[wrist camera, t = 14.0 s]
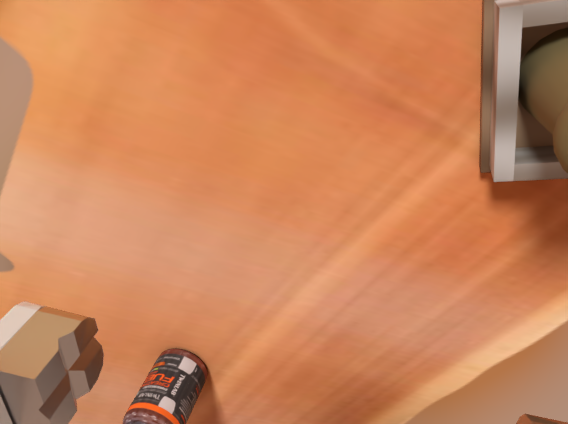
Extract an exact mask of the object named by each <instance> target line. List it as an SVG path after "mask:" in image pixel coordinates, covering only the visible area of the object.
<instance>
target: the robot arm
mask: <svg viewBox="0 0 568 424" xmlns="http://www.w3.org/2000/svg"><path fill="white" fill-rule="evenodd" d="M97 331H98V328H97V325H96V321H95V319H94V318H90V317H86V316H82V315H78V314H74V313H70V312H66V311H62V310H58V309H54V308H50V307H47V306H42V305H38V304H34V303H29V302H25V301H24V302H21V303H19V304H17V305H15V306H14V307H13V308H12V309H11V310H10V311H9V312H8V313H7V314H6V315H5V316H4V317H3V318H2V319H1V320H0V424H68V423H69V422H70V420H71V419H72V417H73V416H74V414H75V413H76V411H77V403H76V399H78V398H79V397H81V396H83V395H85V394H86V393H88V392H90V390H91V389H92V387H93V386H94V384H95V383H96V381H97V380H98V377H99V374H100V371H101V369H102V366H103V355H104V354H103V349H102V346H101V344H100V343H99V342H98V341H97V340H96V339H95V338H94V336H95V334H96V333H97ZM516 424H568V423H567V422H561V421H557V420H552V419H548V418H542V417H538V416H533V415H529V414H524V415H522V416H521V417H520V418H519V420H518V421H517V423H516Z"/></svg>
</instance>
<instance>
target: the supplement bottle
mask: <svg viewBox="0 0 568 424" xmlns="http://www.w3.org/2000/svg"><path fill="white" fill-rule="evenodd" d="M206 378H207V370H206V367H205V365H204V363H203V362H202V361H201V360H200V359H199V358H198V357H197V356H195V355H194V354H193V353H191V352H188V351H186V350H182V349H168V350H166V351H164V352H163V353H162V354H161V355H160V356H159V358H158V359H157V360H156V363H155V364H154V366H153V368H152V369H151V371H150V372H149V374H148V376H147V378H146V380H145V381H144V383H143V385H142V387H141V388H140V390H139V392H138V393H137V395H136V397H135V398H134V400H133V402H132V403H131V405H130V407H129V409H128V411H127V412H126V414H125V416H124V419H123V424H186V422H187V420H188V418H189V416H190V414H191V411H192V409H193V407H194V405H195V403H196V400H197V398H198V396H199V394H200V392H201V390H202V387H203V385H204V383H205V380H206Z"/></svg>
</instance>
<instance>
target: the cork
mask: <svg viewBox="0 0 568 424" xmlns="http://www.w3.org/2000/svg"><path fill="white" fill-rule="evenodd" d="M518 99H519V101H520V102H521V104H522V106H523V108H525V109H526V110H527V111H528V112H529V113H530V114H531V115H532V116H533V117H534V118H535V119H536V120H537V121H538V122H539V123H540V124H542V125H543V126H544V127H545V128H546V129H547V130H548V131H549V132H550V133H551V134H552V135H553V146H554V152H555V155H556V157H557V159H558V161H559V163H560V164H561V166H562V168H563V170H564V171H566V172H567V173H568V28H564V29H560V30H557V31H555V32H553V33H551V34H549V35H547V36H546V37H544V38H542V39H540V40H539V41H538V42H537V43H536V44H535V45H534V46H533V47H532V48H531V49H530V50H529V51H528V52H527V53H526V55H525V57H524V58H523V60H522V62H521V63H520V74H519V92H518Z"/></svg>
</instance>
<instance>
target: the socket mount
mask: <svg viewBox="0 0 568 424" xmlns="http://www.w3.org/2000/svg"><path fill="white" fill-rule="evenodd" d="M564 28H568V0H483V1H482V56H481V111H480V171H481V173H484V172H491V174H492V177H493V181H494V182H505V181H526V180H547V179H568V173H567V172H566V171H564V170H563V168H562V166H561V164H560V163H559V161H558V159H557V157H556V155H555V152H554V146H553V135H552V134H551V133H550V132H549V131H548V130H547V129H546V128H545V127H544V126H543V125H542V124H540V123H539V122H538V121H537V120H536V119H535V118H534V117H533V116H532V115H531V114H530V113H529V112H528V111H527V110H526V109H525V108H523V106H522V104H521V102H520V101H519V99H518V92H519V74H520V63H521V62H522V60H523V58H524V57H525V55H526V53H527V52H528V51H529V50H530V49H531V48H532V47H533V46H534V45H535V44H536V43H537V42H538V41H539V40H540V39H542V38H544V37H546V36H547V35H549V34H551V33H553V32H555V31H557V30H560V29H564Z"/></svg>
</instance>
